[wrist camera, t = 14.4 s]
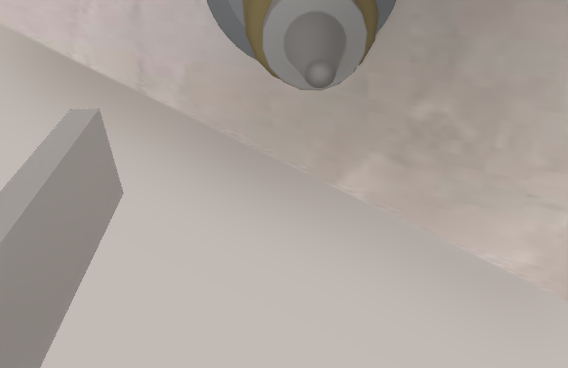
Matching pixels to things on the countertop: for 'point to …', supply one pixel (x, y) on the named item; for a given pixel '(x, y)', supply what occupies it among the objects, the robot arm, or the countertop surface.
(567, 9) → the countertop surface
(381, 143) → the countertop surface
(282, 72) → the squeeze bottle
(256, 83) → the countertop surface
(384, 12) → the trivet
